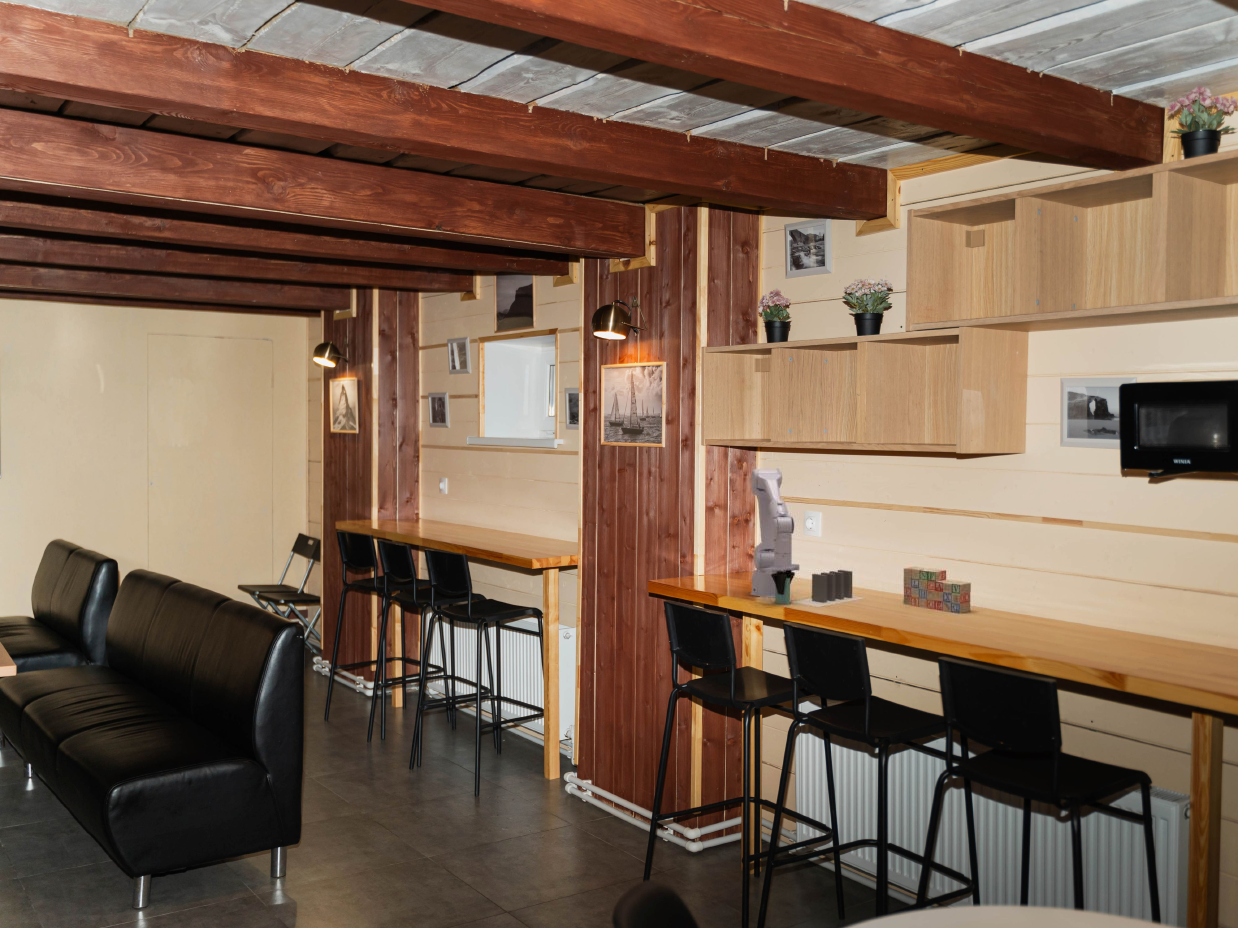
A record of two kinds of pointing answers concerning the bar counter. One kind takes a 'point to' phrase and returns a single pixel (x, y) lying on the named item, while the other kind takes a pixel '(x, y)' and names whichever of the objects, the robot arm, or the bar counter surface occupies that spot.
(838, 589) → the domino
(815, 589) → the domino
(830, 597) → the domino
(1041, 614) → the bar counter surface
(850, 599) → the mat
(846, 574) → the domino
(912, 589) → the stack of blocks
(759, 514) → the robot arm
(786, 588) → the domino
